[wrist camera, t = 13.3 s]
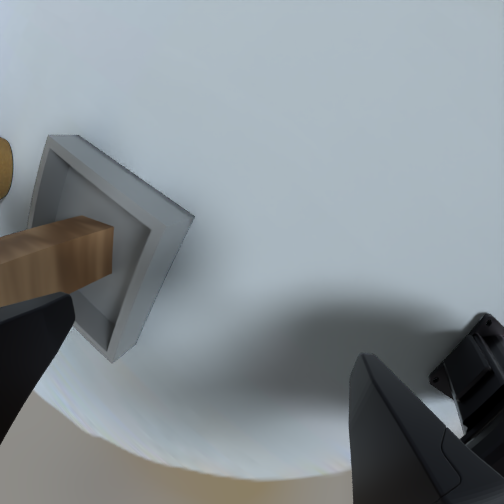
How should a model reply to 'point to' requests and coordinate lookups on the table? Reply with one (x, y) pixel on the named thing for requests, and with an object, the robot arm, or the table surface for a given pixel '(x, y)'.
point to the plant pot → (5, 167)
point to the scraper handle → (54, 258)
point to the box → (124, 239)
